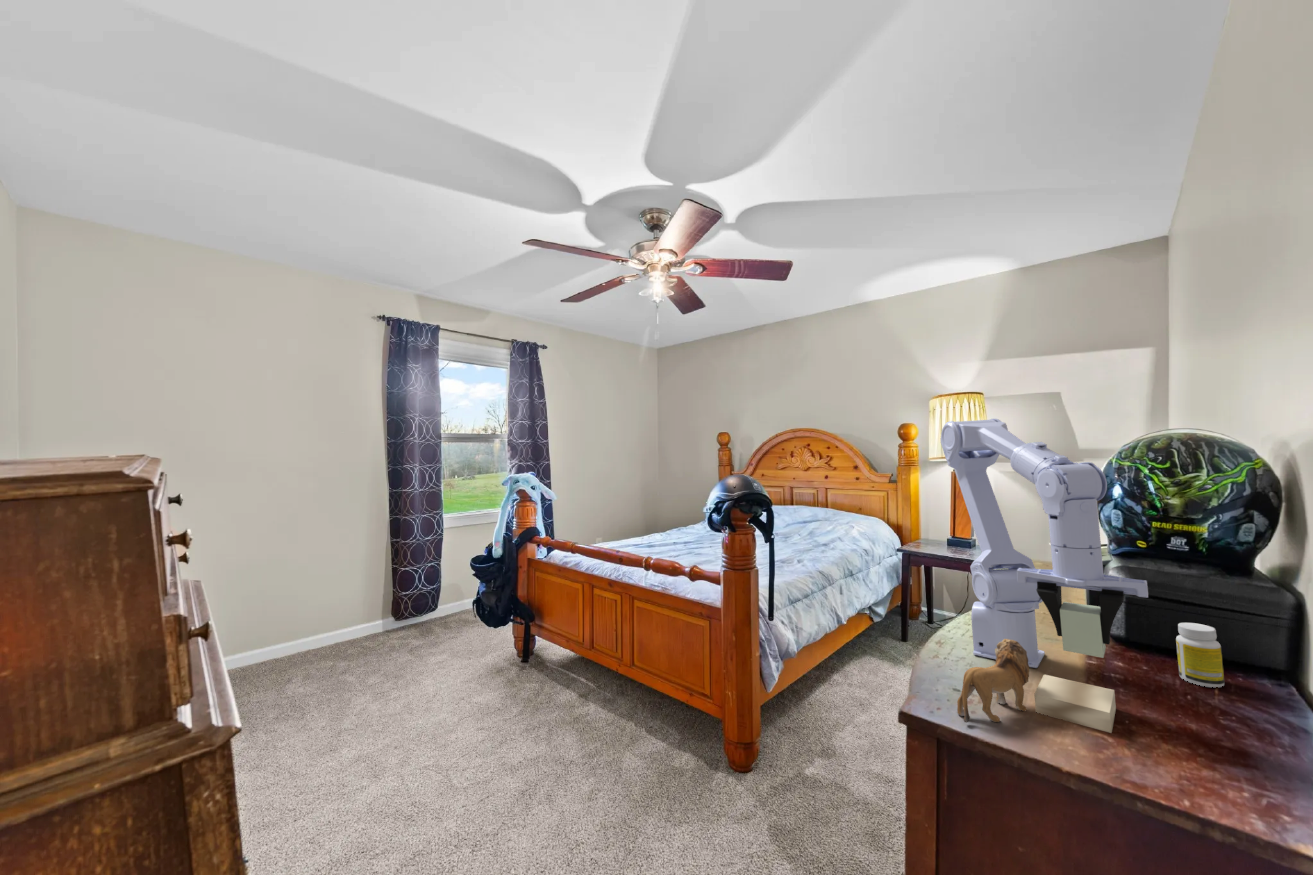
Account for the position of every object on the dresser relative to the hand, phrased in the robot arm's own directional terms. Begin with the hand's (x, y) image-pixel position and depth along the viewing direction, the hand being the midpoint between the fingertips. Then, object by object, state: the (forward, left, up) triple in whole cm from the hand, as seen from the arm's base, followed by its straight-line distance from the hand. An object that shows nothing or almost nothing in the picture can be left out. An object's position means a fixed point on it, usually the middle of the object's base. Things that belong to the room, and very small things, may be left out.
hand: (1083, 638), depth 72 cm
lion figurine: (-10, -10, -10) cm, 17 cm away
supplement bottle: (+12, +18, -10) cm, 24 cm away
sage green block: (0, 0, -2) cm, 2 cm away
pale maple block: (-1, -3, -10) cm, 11 cm away
